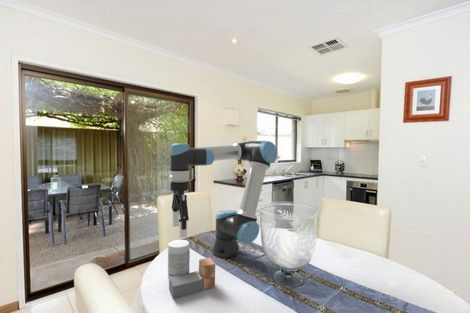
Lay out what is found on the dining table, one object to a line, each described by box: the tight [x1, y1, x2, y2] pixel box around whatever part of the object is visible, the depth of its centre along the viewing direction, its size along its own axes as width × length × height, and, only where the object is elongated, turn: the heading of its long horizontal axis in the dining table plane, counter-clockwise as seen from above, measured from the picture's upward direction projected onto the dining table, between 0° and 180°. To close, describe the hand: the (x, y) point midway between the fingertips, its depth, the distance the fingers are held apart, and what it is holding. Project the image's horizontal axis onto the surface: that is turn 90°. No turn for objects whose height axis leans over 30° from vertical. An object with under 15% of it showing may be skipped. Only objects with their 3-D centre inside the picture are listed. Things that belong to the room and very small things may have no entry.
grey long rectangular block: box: [168, 270, 204, 300], centre depth 96 cm, size 12×7×5 cm, turn 118°
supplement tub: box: [167, 239, 191, 278], centre depth 107 cm, size 10×10×15 cm
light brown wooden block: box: [198, 257, 216, 291], centre depth 100 cm, size 5×6×10 cm
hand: (179, 231), depth 99 cm, fingers open, 13 cm apart
